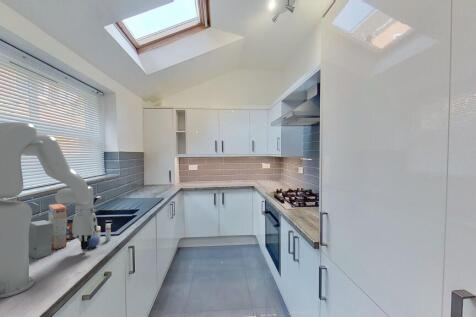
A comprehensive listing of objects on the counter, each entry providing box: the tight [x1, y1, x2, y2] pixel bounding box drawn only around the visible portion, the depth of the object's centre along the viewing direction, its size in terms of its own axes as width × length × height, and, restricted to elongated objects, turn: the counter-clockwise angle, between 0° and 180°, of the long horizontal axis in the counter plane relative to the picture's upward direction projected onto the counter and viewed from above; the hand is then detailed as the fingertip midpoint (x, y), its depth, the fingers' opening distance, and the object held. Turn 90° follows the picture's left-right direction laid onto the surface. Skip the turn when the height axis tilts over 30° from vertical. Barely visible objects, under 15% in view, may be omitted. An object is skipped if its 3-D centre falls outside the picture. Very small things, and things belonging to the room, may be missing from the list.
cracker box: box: [48, 203, 68, 250], centre depth 127 cm, size 14×6×21 cm, turn 46°
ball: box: [88, 236, 99, 248], centre depth 125 cm, size 6×6×6 cm
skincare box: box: [29, 219, 53, 260], centre depth 114 cm, size 8×7×16 cm
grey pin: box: [105, 223, 112, 242], centre depth 134 cm, size 2×2×9 cm
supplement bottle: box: [66, 217, 77, 241], centre depth 137 cm, size 6×6×11 cm
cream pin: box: [96, 225, 102, 245], centre depth 130 cm, size 2×2×9 cm
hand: (84, 248), depth 118 cm, fingers closed
